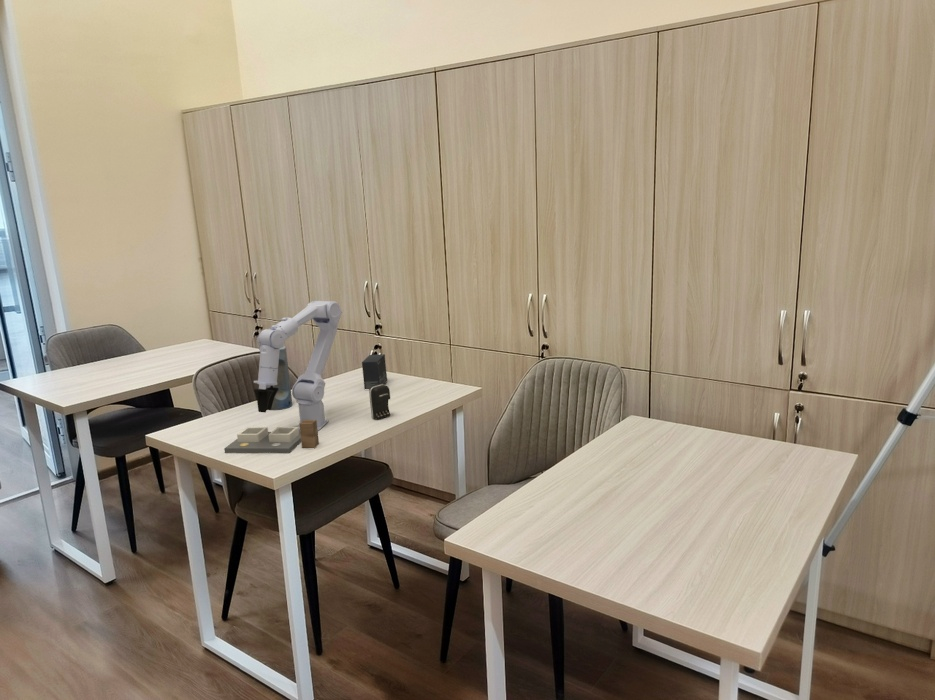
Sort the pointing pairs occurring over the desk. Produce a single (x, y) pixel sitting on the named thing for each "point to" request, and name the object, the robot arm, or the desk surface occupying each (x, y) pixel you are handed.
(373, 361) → the small box
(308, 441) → the walnut peg
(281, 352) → the bottle
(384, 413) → the battery charger
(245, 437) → the socket board
